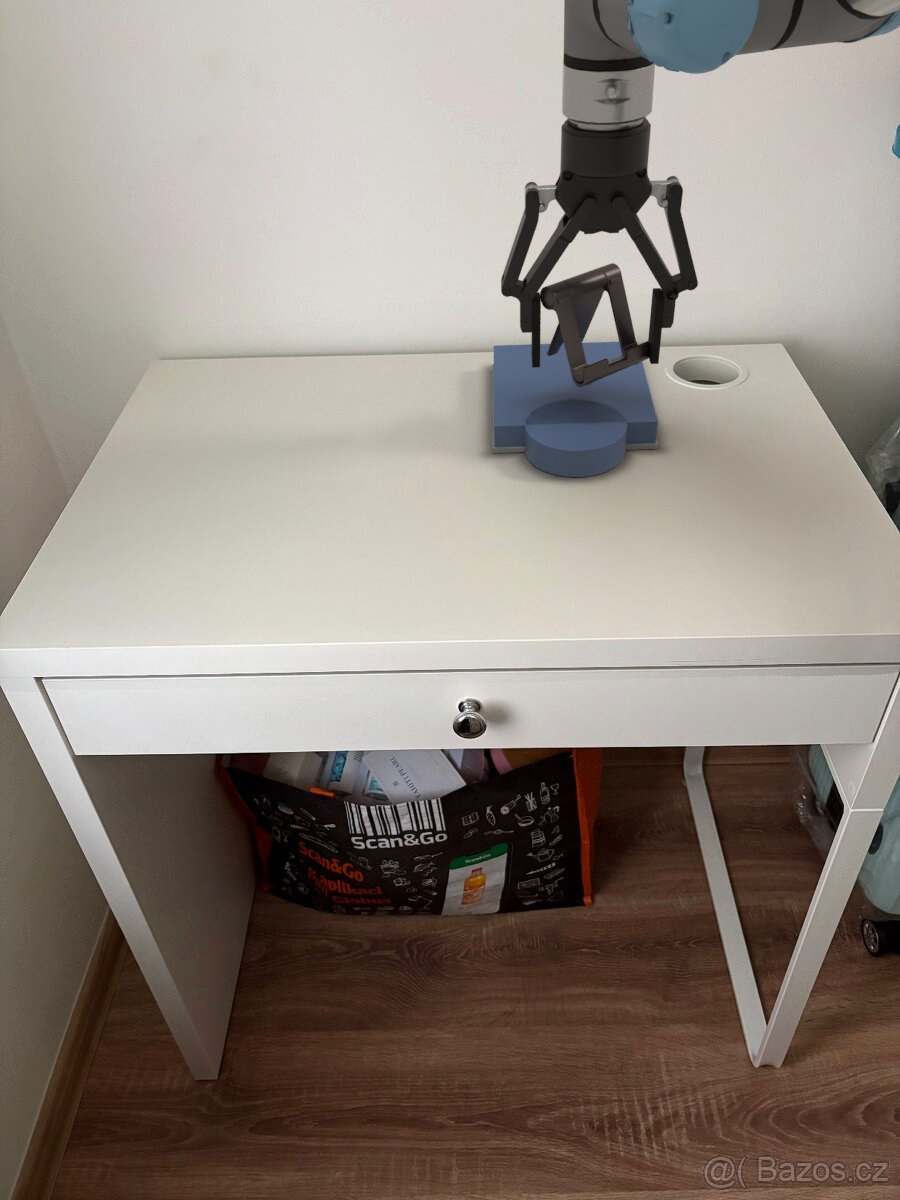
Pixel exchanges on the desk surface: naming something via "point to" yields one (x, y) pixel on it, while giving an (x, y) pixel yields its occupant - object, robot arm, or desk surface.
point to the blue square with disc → (569, 410)
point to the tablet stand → (575, 314)
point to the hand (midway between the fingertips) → (593, 359)
